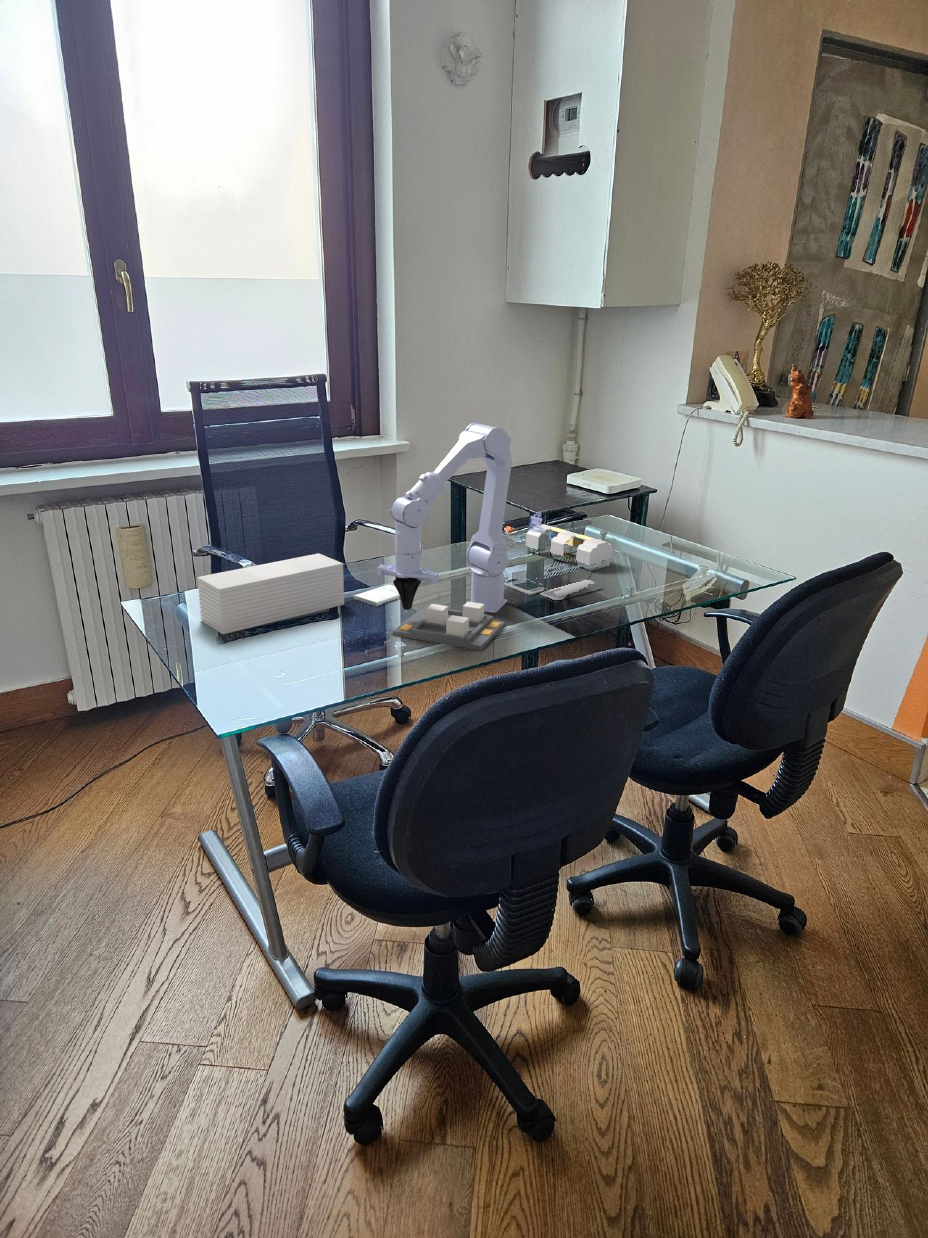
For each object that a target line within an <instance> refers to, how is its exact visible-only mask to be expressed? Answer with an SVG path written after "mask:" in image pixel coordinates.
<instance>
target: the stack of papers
mask: <svg viewBox="0 0 928 1238" xmlns="http://www.w3.org/2000/svg"><path fill="white" fill-rule="evenodd" d="M196 578H197V579H196V580H197V589H198V597H199V609H200V610H199V611H200V620H201V622H202V623H204V624H206V625H208V626H209V627H210V628H211V629H214V630H215V631H217V632H219V633H220V634H222V635H225V634H229V633H234V632H237V631H242V630H245V629H249V628H254V627H258V626H263V625H267V624H270V623H275V622H278V621H279V622H280V621H282V620H286V619H291V618H295V617H298V616H299V617H300V616H302V615H307V614H311V613H316V612H320V611H323V610H327V609H332V608H335V607H340V606H344V605H345V595H344V594H345V593H344V592H345V591H344V589H345V588H344V584H345V583H344V581H345V579H344V563H343V562H340V561H338V560H336V559H333V558H330V557H328V556H326V555H324V554H322V553H319V552H318V553H315V554H314V553H313V554H308V555H303V556H298V557H292V558H289V559H284V560H279V561H273V562H268V563H264V564H263V563H262V564H256V565H253V566H248V567H241V568H238V569H233V570H226V571H222V572H217V573H212V574H206V575H201V576H198V577H196Z"/></svg>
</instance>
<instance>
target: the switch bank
mask: <svg viewBox="0 0 928 1238" xmlns="http://www.w3.org/2000/svg"><path fill="white" fill-rule="evenodd" d="M452 615H454V616H460V617H463V610H456V609H452V608H451V609H450V608H448V618H449V617H451V616H452ZM505 625H506V622H505V621H502V620H497V619H493V615H488V614H484V620H483V621H482V622H476V621H470V620H469V634H468V635H467V636H466V637H460V636H454V635H448V634H446V625H442V624H436V623H430V622H426V608H421V609H419V610H418V611H416V612H415V613H414V614H412V615H411V616H410V617H409V618H407V619H406V620H405V621H403V622H402V623H401V624H399V626H397V627H396V628H395V629H393V630H392V636H397V637H403V638H406V639H407V638H409V639H412V640H413V639H414V640H420V641H426V642H432V643H436V644H442V645H448V646H455V647H459V648H460V647H461V648H467V649H470V650H476V651H482V650H483V649H484V648H485V647H486V646H487V645H488V644H489V643H490V641H491V640H492V639H493V638H494V637H496V636H497V634H498V633H500V631H501V630H503V628H504V627H505Z"/></svg>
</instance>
